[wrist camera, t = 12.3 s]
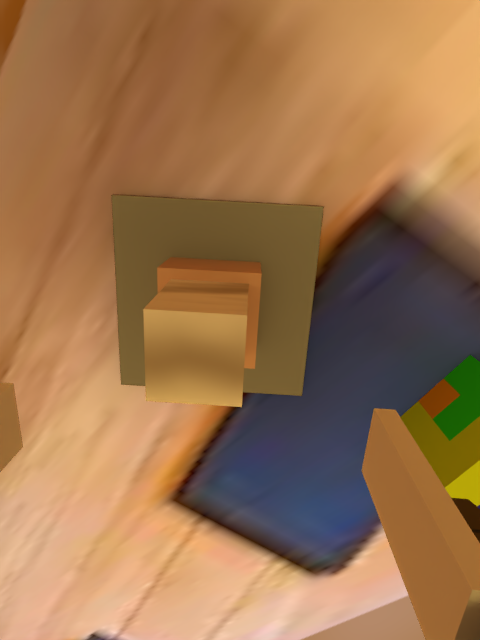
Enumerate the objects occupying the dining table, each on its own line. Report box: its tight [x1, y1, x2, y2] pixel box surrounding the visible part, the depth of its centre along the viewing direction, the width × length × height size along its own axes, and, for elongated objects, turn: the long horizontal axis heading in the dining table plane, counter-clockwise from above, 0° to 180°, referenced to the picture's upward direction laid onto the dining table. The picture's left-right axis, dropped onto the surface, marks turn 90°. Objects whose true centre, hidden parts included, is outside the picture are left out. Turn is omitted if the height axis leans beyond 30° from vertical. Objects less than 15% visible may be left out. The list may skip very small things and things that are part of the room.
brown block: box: [143, 279, 249, 407], centre depth 27 cm, size 6×6×8 cm
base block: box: [157, 257, 262, 369], centre depth 33 cm, size 8×8×5 cm
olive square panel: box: [112, 195, 324, 396], centre depth 36 cm, size 18×18×1 cm
